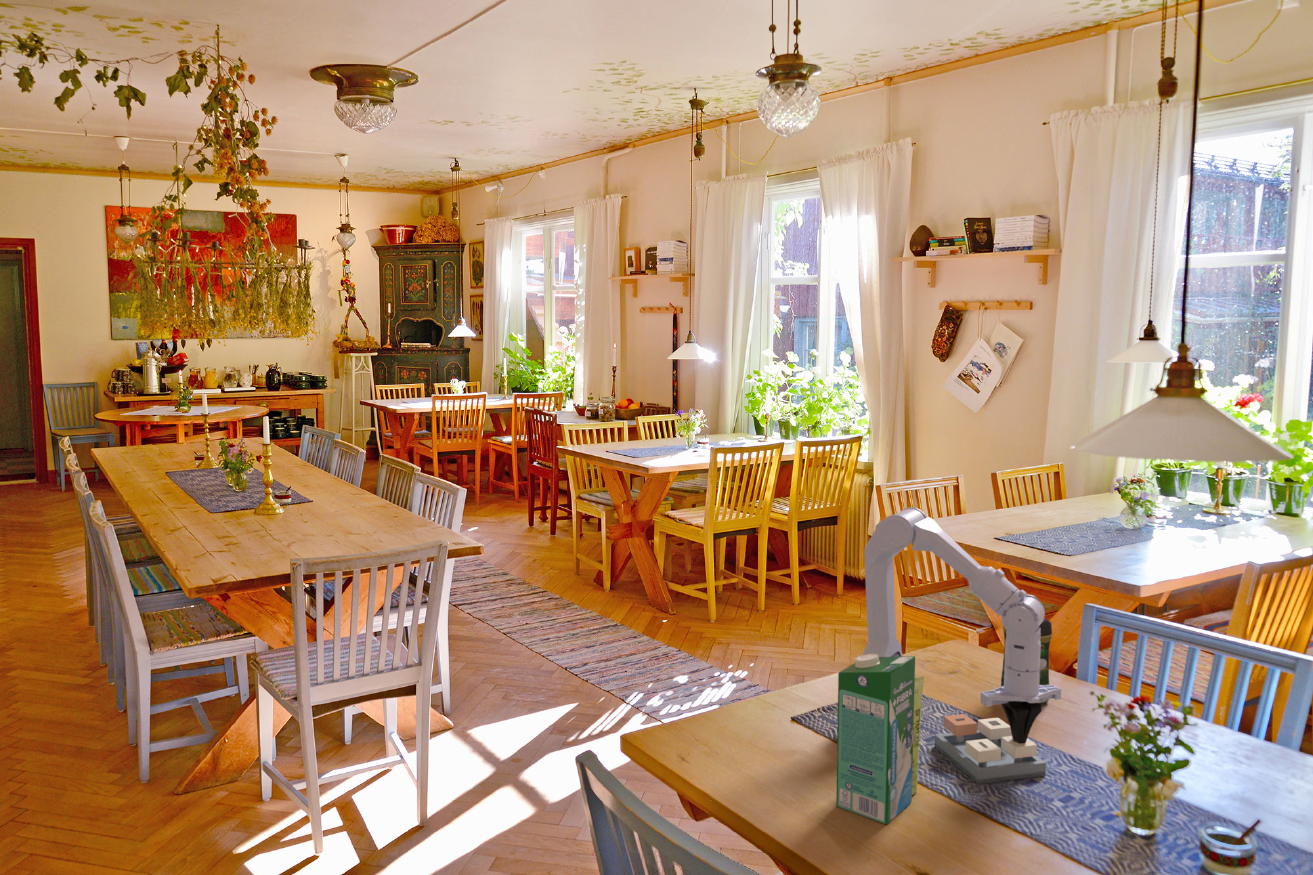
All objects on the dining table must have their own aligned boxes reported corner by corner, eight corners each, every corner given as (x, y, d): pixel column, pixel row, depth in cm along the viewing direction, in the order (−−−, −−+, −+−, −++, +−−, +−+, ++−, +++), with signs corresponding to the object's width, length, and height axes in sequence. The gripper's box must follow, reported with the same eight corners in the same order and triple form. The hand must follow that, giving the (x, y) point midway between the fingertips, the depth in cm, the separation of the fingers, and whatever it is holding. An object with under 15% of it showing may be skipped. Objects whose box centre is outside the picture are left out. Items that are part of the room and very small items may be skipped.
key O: (990, 750, 166) (990, 728, 165) (977, 740, 170) (977, 719, 169) (1010, 747, 167) (1011, 726, 166) (997, 737, 171) (998, 716, 170)
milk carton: (861, 785, 156) (864, 643, 153) (911, 802, 150) (915, 655, 147) (835, 806, 149) (838, 658, 146) (886, 825, 143) (890, 671, 140)
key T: (1014, 769, 158) (1015, 746, 158) (1000, 758, 163) (1001, 736, 162) (1036, 766, 159) (1037, 744, 159) (1021, 755, 163) (1022, 734, 163)
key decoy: (955, 746, 164) (956, 724, 164) (943, 736, 168) (943, 715, 168) (976, 744, 165) (977, 722, 165) (963, 734, 169) (964, 713, 169)
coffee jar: (993, 691, 196) (996, 607, 194) (1025, 687, 198) (1029, 604, 196) (1022, 709, 186) (1026, 621, 184) (1055, 704, 188) (1059, 617, 186)
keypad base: (977, 784, 156) (978, 770, 155) (934, 746, 170) (934, 734, 169) (1045, 775, 158) (1045, 762, 158) (997, 739, 172) (997, 727, 172)
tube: (912, 801, 150) (915, 687, 148) (881, 793, 152) (884, 681, 150) (920, 786, 155) (924, 675, 153) (890, 779, 157) (893, 670, 155)
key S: (978, 773, 157) (979, 750, 157) (965, 762, 161) (965, 740, 161) (1000, 771, 158) (1001, 748, 157) (986, 760, 162) (987, 738, 161)
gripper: (998, 678, 154) (995, 755, 155) (1073, 670, 157) (1070, 746, 158) (974, 663, 160) (972, 737, 162) (1047, 656, 163) (1044, 729, 165)
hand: (1019, 740), depth 160 cm, fingers closed, pressing on key T
